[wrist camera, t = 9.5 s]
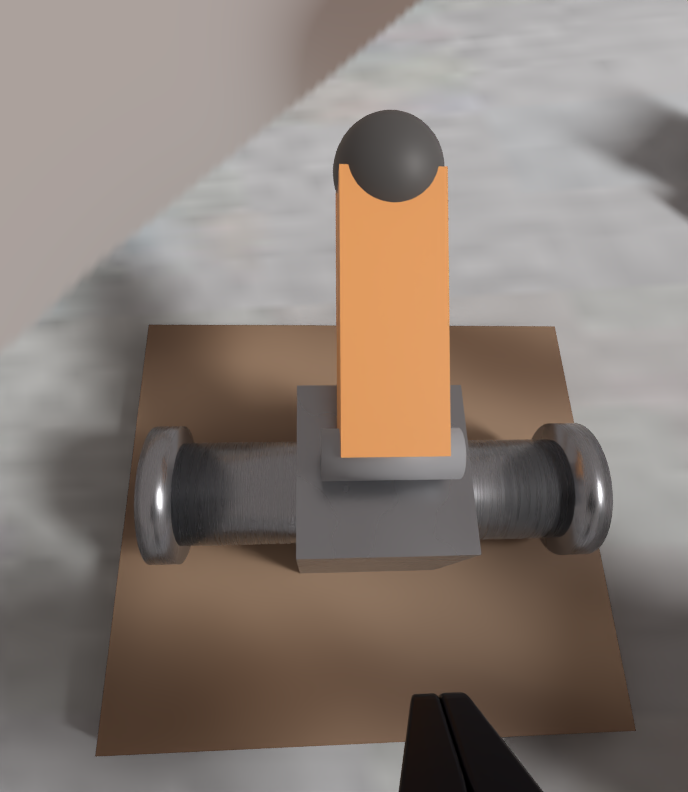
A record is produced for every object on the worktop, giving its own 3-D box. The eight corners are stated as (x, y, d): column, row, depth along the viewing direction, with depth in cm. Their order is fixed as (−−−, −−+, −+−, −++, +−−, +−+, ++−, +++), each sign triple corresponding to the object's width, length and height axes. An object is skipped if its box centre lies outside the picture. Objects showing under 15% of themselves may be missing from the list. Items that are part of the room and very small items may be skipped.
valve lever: (476, 486, 11) (471, 86, 11) (323, 489, 11) (321, 81, 11) (444, 472, 14) (441, 147, 14) (320, 474, 13) (318, 144, 14)
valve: (556, 566, 18) (650, 550, 13) (168, 577, 17) (110, 564, 12) (535, 441, 19) (611, 384, 15) (180, 444, 19) (133, 385, 14)
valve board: (614, 722, 17) (635, 730, 16) (110, 746, 16) (95, 756, 15) (542, 340, 22) (554, 326, 21) (157, 339, 21) (148, 324, 20)
